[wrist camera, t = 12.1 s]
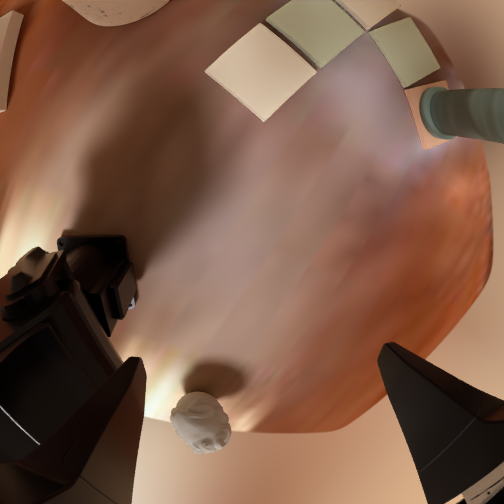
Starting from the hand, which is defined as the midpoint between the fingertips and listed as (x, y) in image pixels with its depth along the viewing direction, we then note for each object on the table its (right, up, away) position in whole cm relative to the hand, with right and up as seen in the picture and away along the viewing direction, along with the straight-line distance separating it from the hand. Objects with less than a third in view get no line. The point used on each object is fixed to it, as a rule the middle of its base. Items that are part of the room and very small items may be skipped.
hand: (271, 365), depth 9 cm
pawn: (+16, +16, +9) cm, 24 cm away
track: (+8, +21, +6) cm, 23 cm away
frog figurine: (-6, -12, +19) cm, 23 cm away
